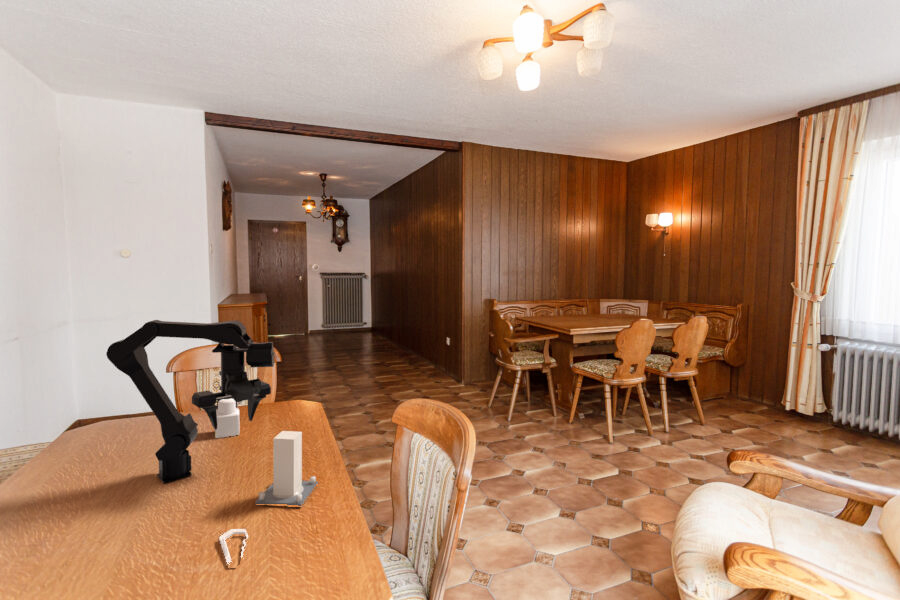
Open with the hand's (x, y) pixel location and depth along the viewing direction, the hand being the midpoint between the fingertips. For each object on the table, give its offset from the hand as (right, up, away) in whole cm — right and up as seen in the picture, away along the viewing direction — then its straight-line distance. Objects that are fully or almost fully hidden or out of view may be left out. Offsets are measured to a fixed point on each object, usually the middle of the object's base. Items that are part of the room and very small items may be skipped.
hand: (233, 424), depth 120 cm
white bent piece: (+16, -17, -31) cm, 39 cm away
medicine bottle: (-15, -11, +28) cm, 33 cm away
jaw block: (+19, -13, -11) cm, 25 cm away
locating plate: (+19, -14, -11) cm, 26 cm away
